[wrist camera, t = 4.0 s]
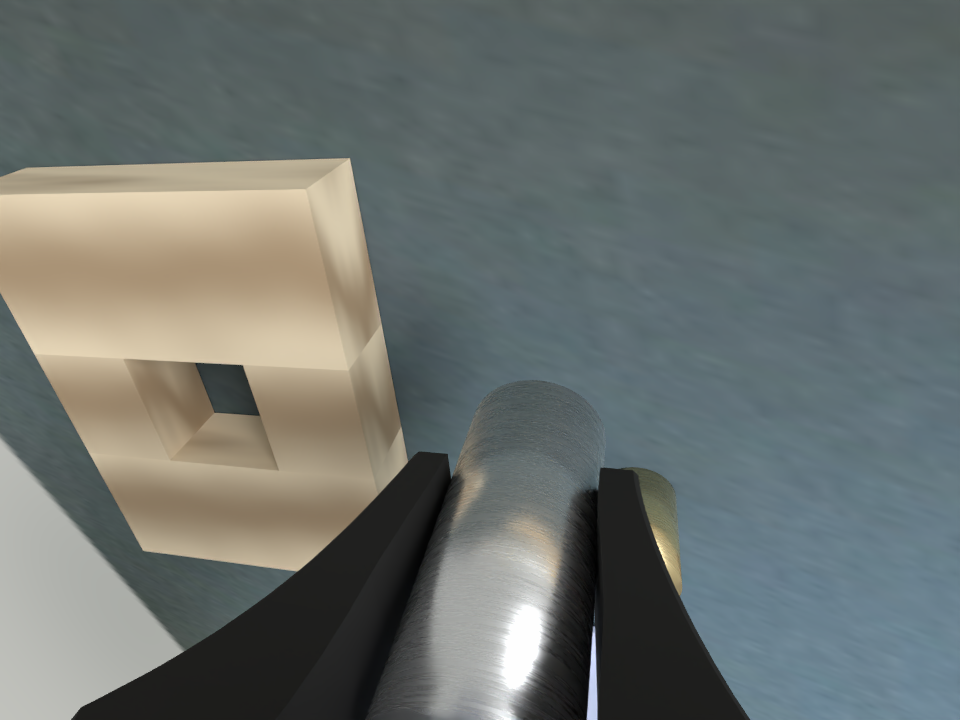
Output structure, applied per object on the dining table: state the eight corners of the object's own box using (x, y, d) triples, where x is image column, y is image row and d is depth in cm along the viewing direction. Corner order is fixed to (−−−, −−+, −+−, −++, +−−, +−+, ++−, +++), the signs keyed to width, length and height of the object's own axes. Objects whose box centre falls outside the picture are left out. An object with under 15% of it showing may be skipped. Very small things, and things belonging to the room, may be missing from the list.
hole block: (420, 527, 27) (399, 584, 25) (184, 501, 30) (143, 550, 27) (349, 158, 19) (305, 189, 16) (26, 167, 21) (-54, 195, 19)
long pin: (603, 490, 14) (580, 845, 9) (477, 478, 15) (378, 801, 9) (608, 384, 13) (583, 734, 7) (467, 376, 13) (340, 690, 8)
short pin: (672, 528, 24) (677, 618, 21) (594, 520, 25) (587, 606, 21) (679, 470, 22) (686, 559, 19) (595, 464, 23) (588, 548, 20)
